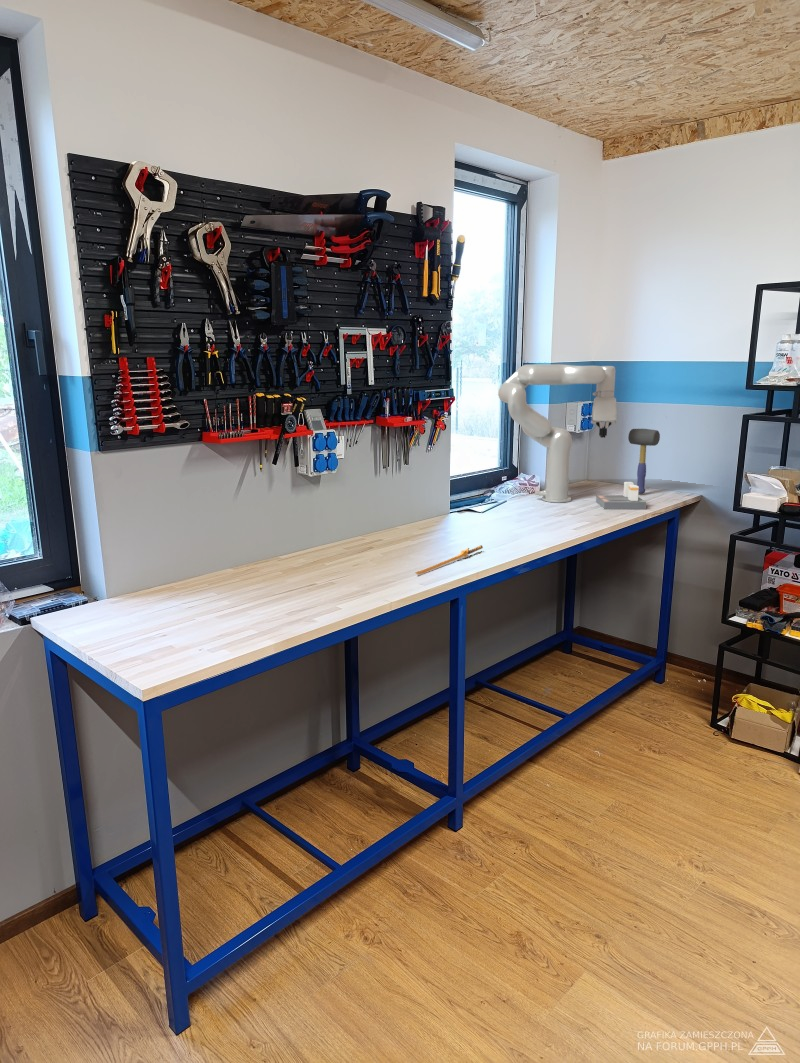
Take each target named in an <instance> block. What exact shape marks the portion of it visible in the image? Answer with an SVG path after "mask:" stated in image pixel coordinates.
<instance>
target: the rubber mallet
mask: <svg viewBox="0 0 800 1063" xmlns="http://www.w3.org/2000/svg"><path fill="white" fill-rule="evenodd" d="M627 437H628V442H629V444H632V445H637V446H638V445H639V446H640V449H639V460H638V461H639V462H638V466H637V472H636V475H637V479H636V480H637V481H636V482H637V483H636V485H637V486H639V490H638V494H639V495H638V496H641V495H642V496H643V495H644V494H645V492H646V488H645V487H646V486H645V485H646V476H647V463H646V457H647V456H646V455H647V446H649V447H651V446H657V445H658V444H659V442H660V439H661V434H660V432H659V430H657V429H649V428H632V429H631V430H629V432H628V436H627Z"/></svg>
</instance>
